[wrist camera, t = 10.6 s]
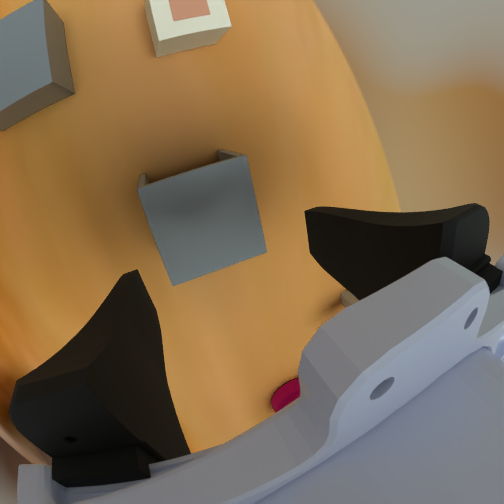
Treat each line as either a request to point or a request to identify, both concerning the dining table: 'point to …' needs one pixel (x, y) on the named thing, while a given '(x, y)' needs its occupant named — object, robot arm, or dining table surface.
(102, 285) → the dining table surface
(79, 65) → the dining table surface
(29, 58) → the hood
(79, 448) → the robot arm
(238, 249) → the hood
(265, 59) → the dining table surface
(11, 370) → the dining table surface
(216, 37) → the cube
